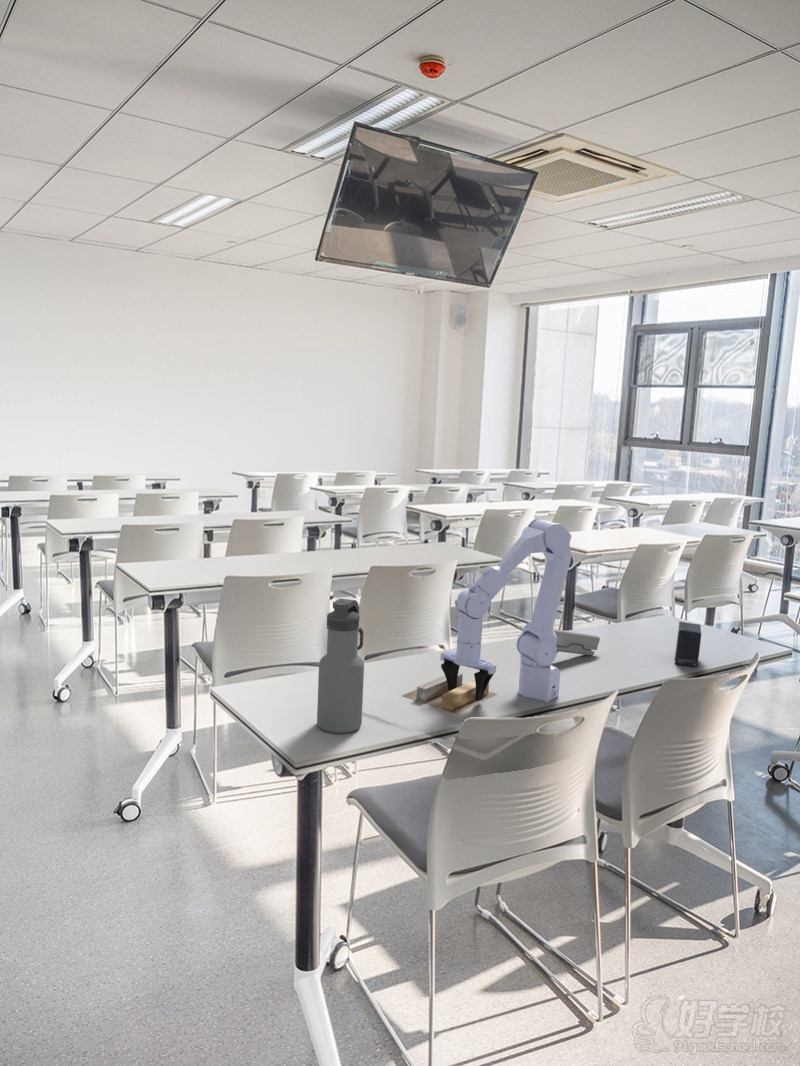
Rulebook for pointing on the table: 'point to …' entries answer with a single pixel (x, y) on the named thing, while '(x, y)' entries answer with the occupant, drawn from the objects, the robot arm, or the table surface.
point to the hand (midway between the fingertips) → (465, 695)
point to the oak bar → (460, 695)
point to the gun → (576, 642)
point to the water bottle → (341, 671)
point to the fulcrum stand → (435, 689)
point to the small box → (688, 644)
